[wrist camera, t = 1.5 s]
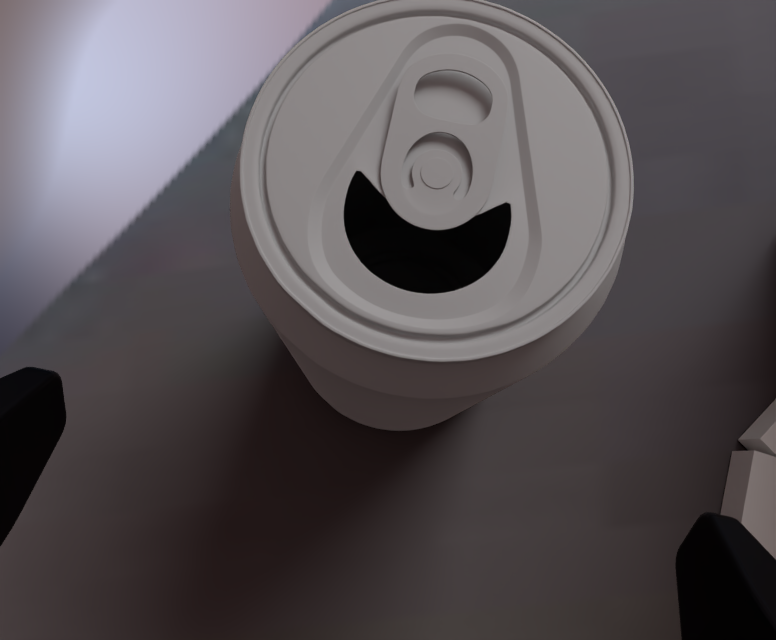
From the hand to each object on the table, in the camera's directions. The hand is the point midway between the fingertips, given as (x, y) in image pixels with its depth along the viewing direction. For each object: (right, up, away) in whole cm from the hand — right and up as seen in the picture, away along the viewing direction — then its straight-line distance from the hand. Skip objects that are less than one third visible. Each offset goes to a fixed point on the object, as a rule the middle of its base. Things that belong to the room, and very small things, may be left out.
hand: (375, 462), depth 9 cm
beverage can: (0, +2, +12) cm, 12 cm away
